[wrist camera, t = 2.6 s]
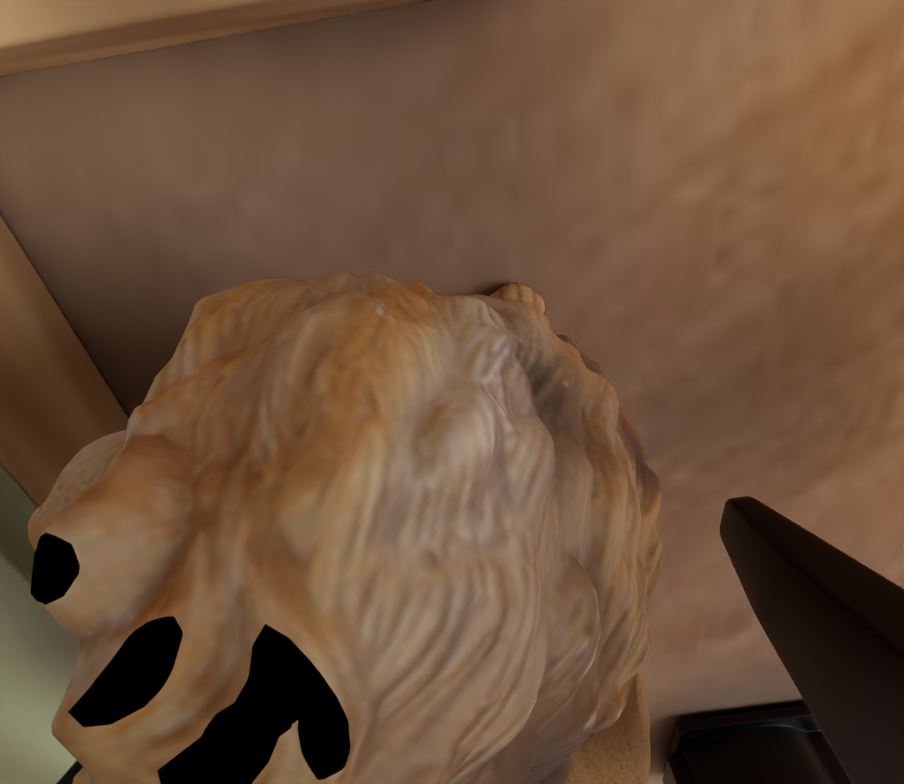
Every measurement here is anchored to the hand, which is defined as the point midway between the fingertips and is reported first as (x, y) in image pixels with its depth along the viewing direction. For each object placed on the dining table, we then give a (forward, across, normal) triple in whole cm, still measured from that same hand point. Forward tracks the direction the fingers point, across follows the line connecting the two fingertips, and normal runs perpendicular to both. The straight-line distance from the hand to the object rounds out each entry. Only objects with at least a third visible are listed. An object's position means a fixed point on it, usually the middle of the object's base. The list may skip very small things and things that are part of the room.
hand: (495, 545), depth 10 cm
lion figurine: (+4, 0, 0) cm, 4 cm away
